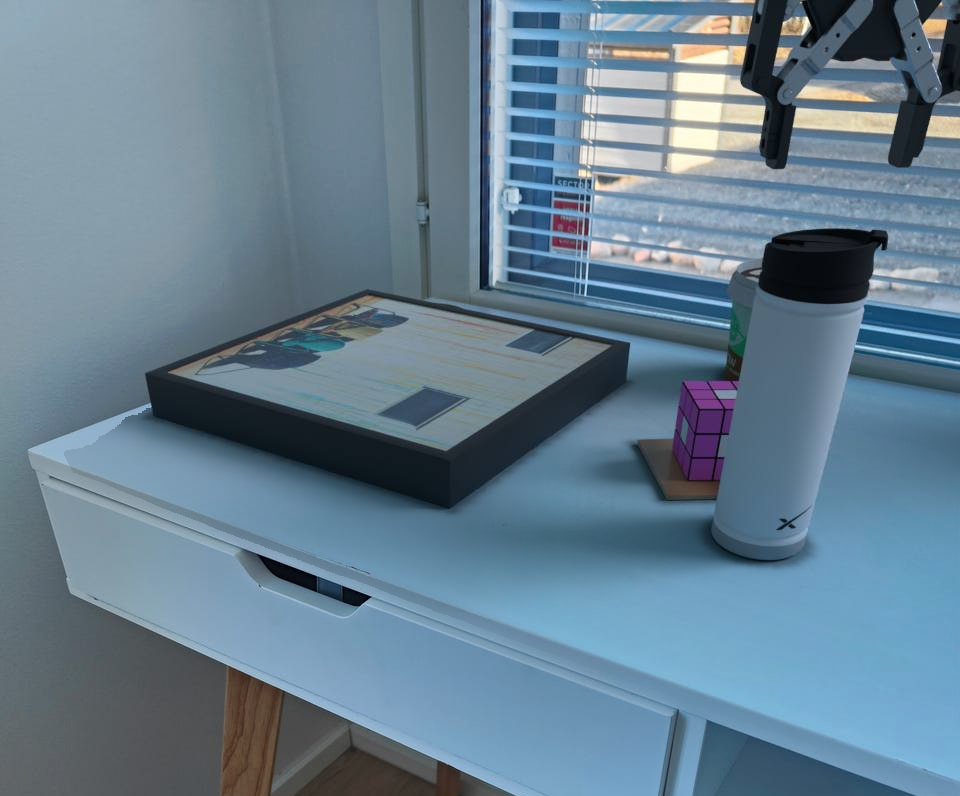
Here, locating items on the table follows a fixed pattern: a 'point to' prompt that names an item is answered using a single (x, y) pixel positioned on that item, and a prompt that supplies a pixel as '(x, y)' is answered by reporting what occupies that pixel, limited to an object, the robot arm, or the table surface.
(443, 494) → the framed picture
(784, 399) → the travel mug
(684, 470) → the puzzle toy
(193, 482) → the table surface
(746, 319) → the food container
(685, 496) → the cork coaster
